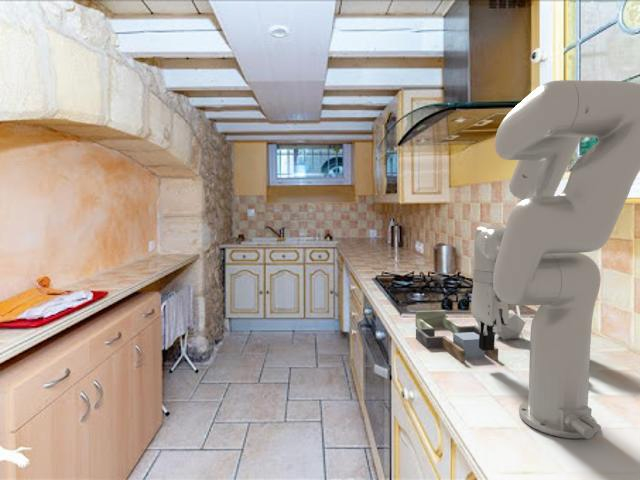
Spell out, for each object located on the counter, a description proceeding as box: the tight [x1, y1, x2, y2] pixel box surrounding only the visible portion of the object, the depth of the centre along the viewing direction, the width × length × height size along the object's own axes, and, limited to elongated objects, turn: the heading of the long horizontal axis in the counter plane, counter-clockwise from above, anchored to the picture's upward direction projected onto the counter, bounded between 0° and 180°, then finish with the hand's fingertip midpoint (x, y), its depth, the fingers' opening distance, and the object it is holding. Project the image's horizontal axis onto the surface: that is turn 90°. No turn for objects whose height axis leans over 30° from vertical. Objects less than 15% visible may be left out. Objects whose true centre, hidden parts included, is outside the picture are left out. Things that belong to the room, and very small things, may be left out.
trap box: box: [415, 309, 499, 363], centre depth 123 cm, size 33×19×5 cm, turn 7°
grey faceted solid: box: [496, 309, 526, 341], centre depth 126 cm, size 8×9×10 cm
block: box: [452, 332, 486, 359], centre depth 113 cm, size 6×6×5 cm
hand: (486, 349), depth 104 cm, fingers closed
